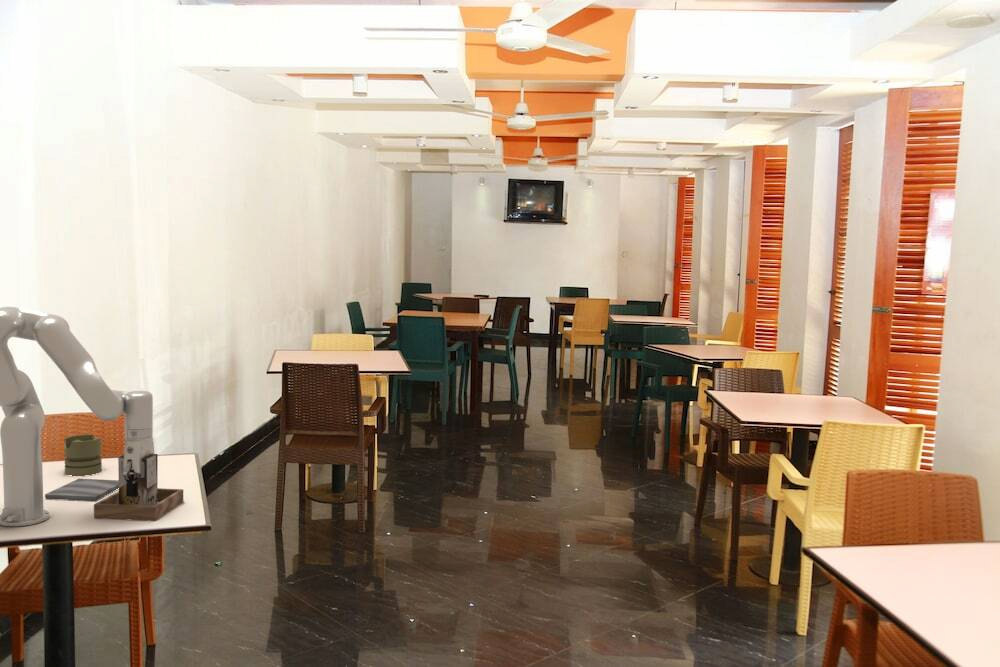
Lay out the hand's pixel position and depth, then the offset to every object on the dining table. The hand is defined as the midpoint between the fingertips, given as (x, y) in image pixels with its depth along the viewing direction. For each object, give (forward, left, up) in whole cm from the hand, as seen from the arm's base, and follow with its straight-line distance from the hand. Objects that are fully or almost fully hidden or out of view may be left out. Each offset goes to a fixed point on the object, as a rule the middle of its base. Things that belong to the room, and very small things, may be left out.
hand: (138, 492), depth 238 cm
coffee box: (0, 0, -5) cm, 5 cm away
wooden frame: (0, 0, -5) cm, 5 cm away
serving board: (+15, +25, -5) cm, 29 cm away
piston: (+37, +39, -6) cm, 54 cm away
